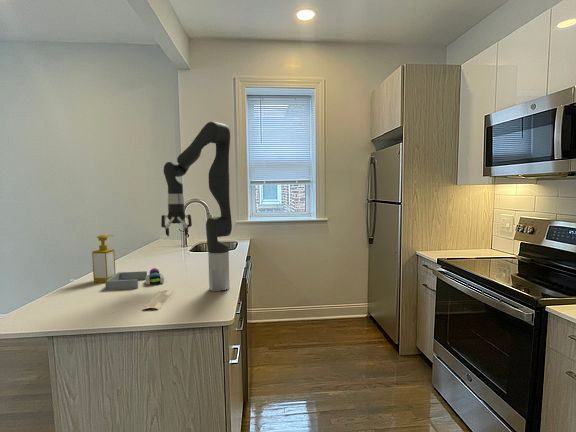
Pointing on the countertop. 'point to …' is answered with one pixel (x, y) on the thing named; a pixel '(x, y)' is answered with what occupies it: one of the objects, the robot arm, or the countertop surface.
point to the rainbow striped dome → (154, 276)
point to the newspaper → (158, 299)
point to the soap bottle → (103, 261)
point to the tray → (125, 280)
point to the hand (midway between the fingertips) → (177, 235)
